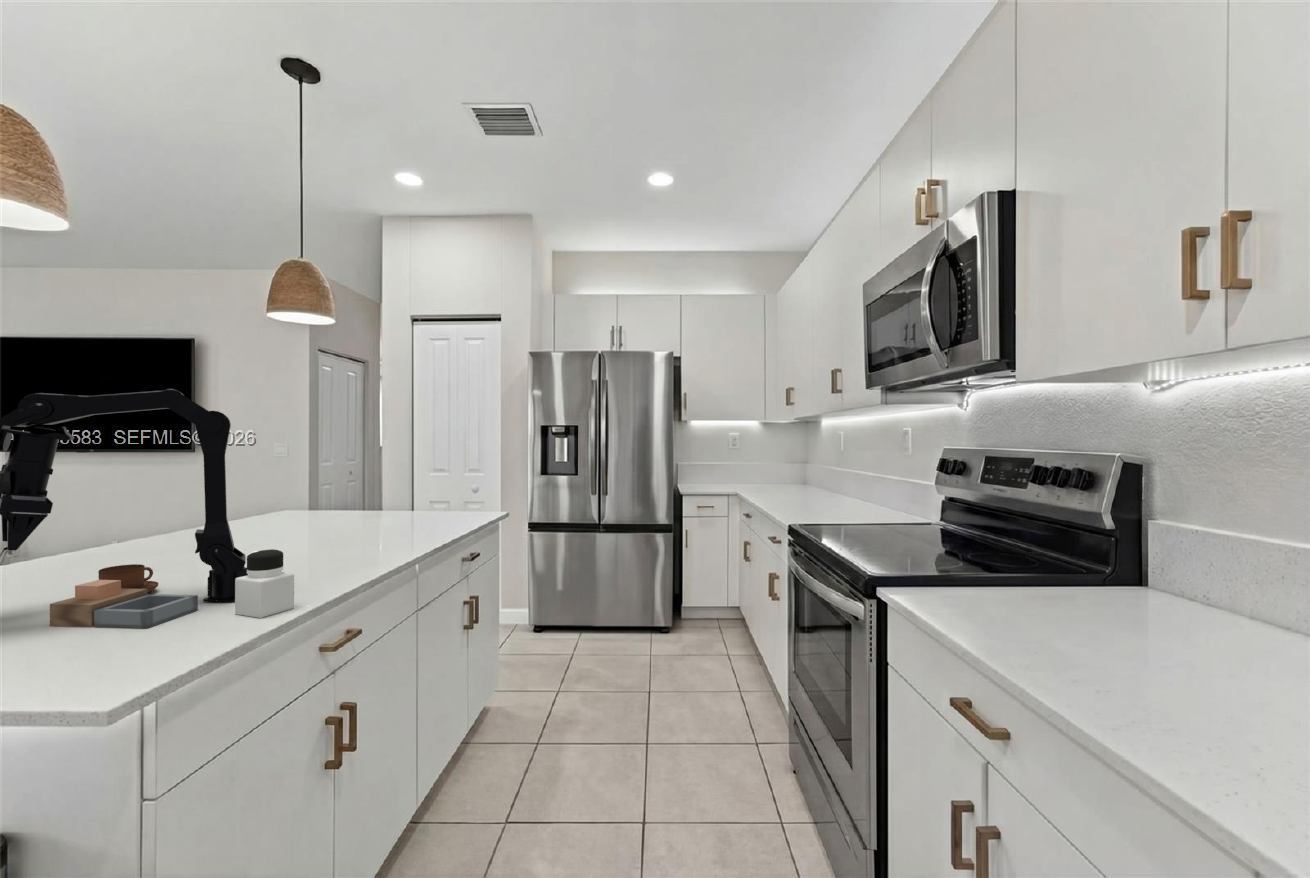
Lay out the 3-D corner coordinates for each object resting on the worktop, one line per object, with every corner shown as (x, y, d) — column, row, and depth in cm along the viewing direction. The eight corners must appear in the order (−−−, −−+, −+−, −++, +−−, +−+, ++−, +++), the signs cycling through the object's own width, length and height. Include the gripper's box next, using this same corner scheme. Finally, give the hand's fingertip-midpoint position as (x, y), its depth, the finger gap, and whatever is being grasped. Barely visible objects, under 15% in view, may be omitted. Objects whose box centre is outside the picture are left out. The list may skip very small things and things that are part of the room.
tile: (121, 593, 114) (121, 580, 114) (97, 599, 109) (97, 586, 109) (99, 592, 114) (99, 579, 114) (74, 599, 109) (74, 585, 109)
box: (197, 610, 116) (197, 595, 116) (146, 628, 105) (146, 612, 105) (149, 609, 117) (149, 594, 117) (94, 627, 106) (94, 610, 106)
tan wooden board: (147, 609, 117) (147, 589, 117) (91, 627, 106) (91, 605, 106) (109, 608, 117) (109, 588, 117) (49, 625, 106) (49, 603, 106)
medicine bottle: (294, 608, 118) (295, 549, 118) (260, 618, 111) (261, 555, 111) (269, 604, 120) (269, 546, 120) (234, 614, 114) (234, 553, 114)
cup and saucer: (113, 589, 131) (114, 562, 131) (171, 588, 133) (172, 561, 132) (66, 605, 119) (66, 575, 119) (130, 604, 121) (130, 574, 121)
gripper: (-39, 450, 107) (-62, 535, 105) (-33, 458, 95) (-59, 554, 94) (47, 458, 116) (27, 537, 114) (62, 467, 104) (40, 555, 103)
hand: (9, 545), depth 106 cm, fingers open, 9 cm apart
